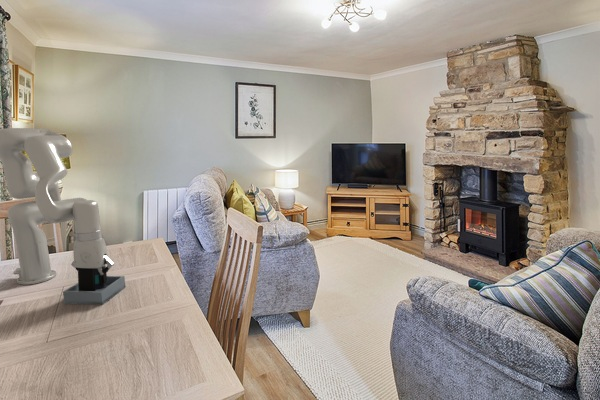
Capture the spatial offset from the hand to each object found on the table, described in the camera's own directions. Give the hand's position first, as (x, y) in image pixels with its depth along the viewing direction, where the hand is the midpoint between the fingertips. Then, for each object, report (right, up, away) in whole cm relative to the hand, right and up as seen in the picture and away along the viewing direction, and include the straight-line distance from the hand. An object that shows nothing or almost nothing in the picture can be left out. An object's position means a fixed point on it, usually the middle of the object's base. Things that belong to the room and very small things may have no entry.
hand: (95, 283), depth 119 cm
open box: (0, -4, +1) cm, 4 cm away
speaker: (-1, -2, 0) cm, 2 cm away
